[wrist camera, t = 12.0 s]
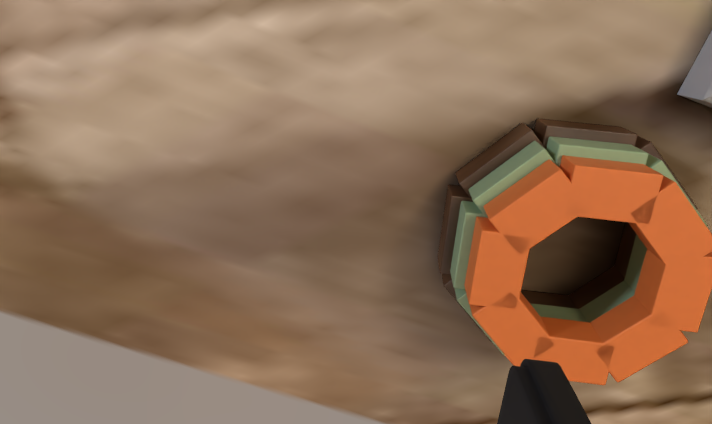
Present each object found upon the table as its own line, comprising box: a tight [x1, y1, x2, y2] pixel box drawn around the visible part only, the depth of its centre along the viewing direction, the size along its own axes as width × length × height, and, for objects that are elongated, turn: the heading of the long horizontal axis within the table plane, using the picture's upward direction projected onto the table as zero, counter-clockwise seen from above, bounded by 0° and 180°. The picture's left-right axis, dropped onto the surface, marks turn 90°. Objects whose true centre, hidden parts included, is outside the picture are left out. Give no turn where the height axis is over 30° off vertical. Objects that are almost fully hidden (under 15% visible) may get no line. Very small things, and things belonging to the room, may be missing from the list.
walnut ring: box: [438, 119, 697, 342], centre depth 29 cm, size 12×12×2 cm
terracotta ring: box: [464, 155, 712, 385], centre depth 26 cm, size 10×10×2 cm
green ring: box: [450, 136, 708, 355], centre depth 27 cm, size 11×11×2 cm
